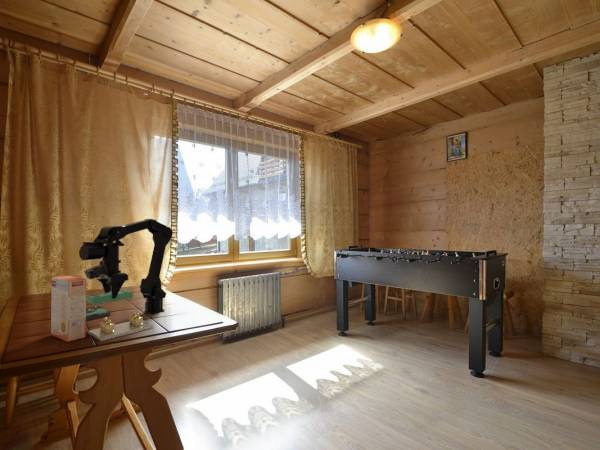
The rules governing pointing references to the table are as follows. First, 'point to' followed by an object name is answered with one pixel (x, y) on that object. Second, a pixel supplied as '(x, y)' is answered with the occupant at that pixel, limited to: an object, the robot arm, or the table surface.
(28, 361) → the table surface
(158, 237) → the robot arm
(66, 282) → the cracker box
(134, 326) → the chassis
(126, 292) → the board
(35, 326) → the table surface
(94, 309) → the disk drive
